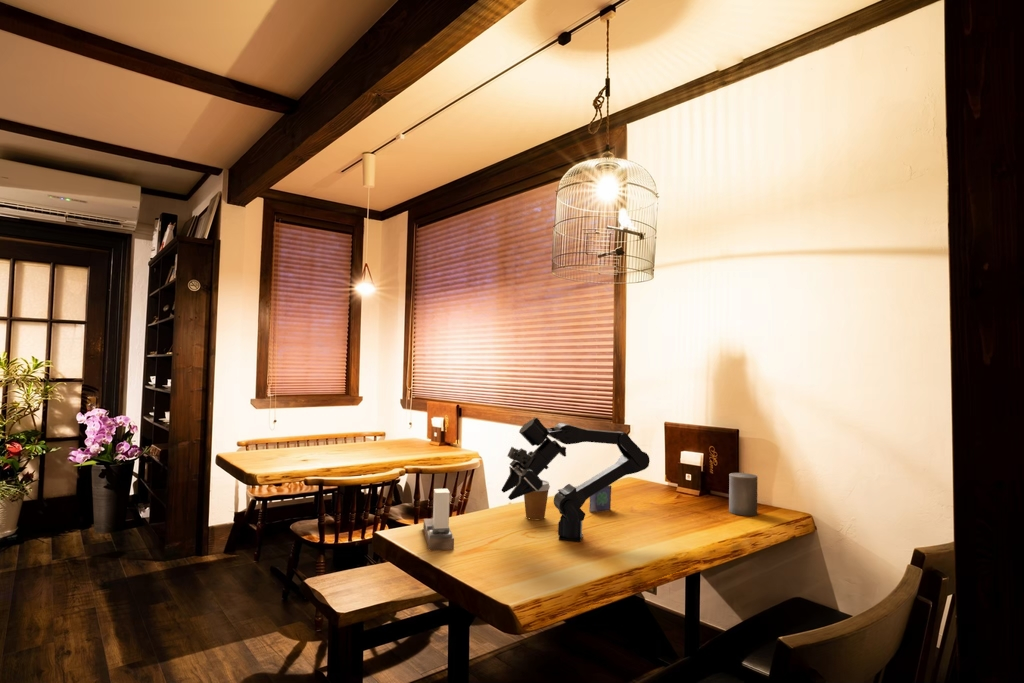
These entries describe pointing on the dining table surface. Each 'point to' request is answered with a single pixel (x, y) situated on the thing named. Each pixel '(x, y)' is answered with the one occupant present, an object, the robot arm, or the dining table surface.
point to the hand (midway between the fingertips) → (505, 495)
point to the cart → (441, 511)
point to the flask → (601, 500)
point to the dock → (437, 537)
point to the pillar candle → (743, 494)
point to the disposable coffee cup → (537, 502)
